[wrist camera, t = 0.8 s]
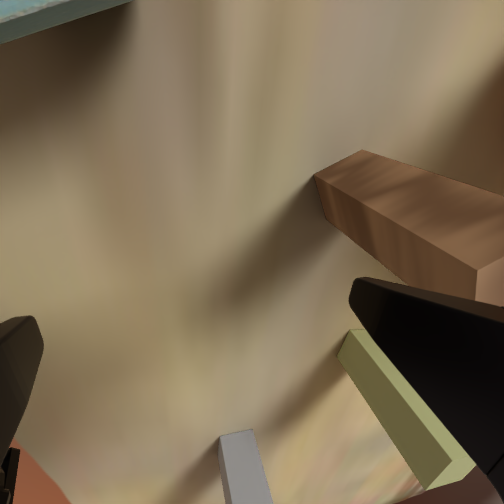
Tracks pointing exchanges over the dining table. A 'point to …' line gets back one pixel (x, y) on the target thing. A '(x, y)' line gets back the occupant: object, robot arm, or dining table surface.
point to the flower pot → (44, 14)
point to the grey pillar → (242, 470)
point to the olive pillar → (403, 414)
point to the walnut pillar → (419, 224)
